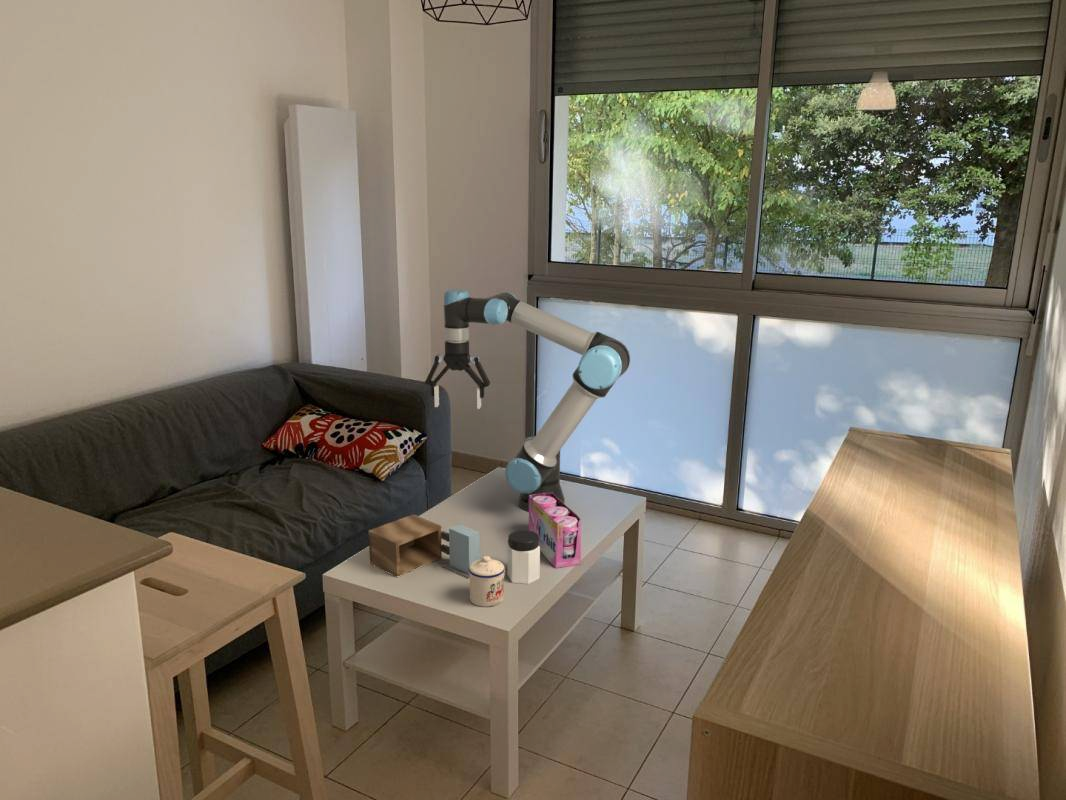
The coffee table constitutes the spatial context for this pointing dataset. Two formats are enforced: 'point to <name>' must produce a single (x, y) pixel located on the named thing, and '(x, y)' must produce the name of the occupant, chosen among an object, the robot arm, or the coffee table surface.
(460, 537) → the door panel
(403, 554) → the cabinet
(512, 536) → the jar
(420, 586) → the coffee table surface
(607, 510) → the coffee table surface
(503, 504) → the coffee table surface
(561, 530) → the gum box
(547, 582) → the coffee table surface
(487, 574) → the teacup with lid
